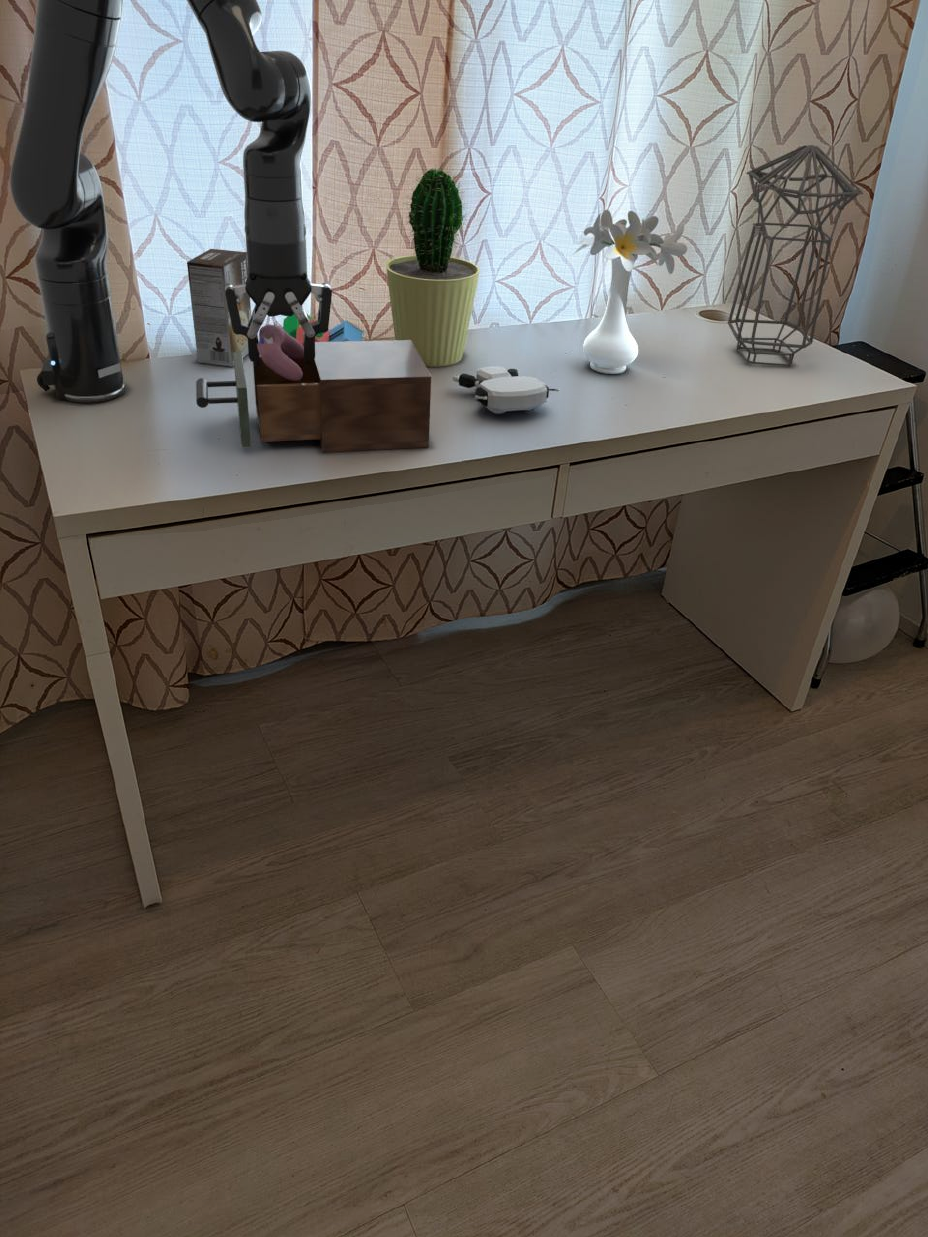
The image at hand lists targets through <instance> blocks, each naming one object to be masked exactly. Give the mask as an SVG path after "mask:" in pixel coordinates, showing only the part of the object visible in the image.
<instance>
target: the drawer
mask: <svg viewBox="0 0 928 1237" xmlns="http://www.w3.org/2000/svg"><path fill="white" fill-rule="evenodd" d="M286 356H287V355H286ZM233 357H234V366H233V368H234V380H222V381H217V380H215V381H207V379H205V378H202V377H201V378H200V377H199V378H198V379H197V380H196V382H195V389H196V390H195V391H196V392H195V396H196V397H195V398H196V405H197V407H198V408H202V409H205V408H206V407H208V405H213V404H214V405H215V404H216V405H217V404H237V405H236V407H237V416H238V424H239V433H240V443H241V448H242V449H243V448H251V447H252V443H251V442H252V441H251V440H252V439H251V429H250V428H251V426H250V416H249V401H248V388H247V387H248V386H247V381H246V374H245V373H246V372H245V366H244V360H243V359H244V358H243V357H242V352H233ZM287 357H289V356H287ZM289 358H290V359H291V360H292V361H294V362H295V363H296V364H297V365H298V366H299V367H300V368H301V370H302V373H303V376H302V378H301V379H300V380H299V381H291V380H289V379H286V378H284V377H282V376H281V375H279V374H275V373H274V371H273V370H271V368H269V367H268V366H267V365H266V364H265V363H264V361H263V360H262V358H261V356H260V366H255V363H254V361H252V369H253V370H252V371H253V383H254V384H253V385H254V397H255V400H254V401H255V410H256V416H257V424H258V430H259V437H260V442H261V443H267V442H290V441H291V442H293V441H313V440H314V441H316V440H319V439H322V434H321V400H320V382H319V379H318V375H317V372H316V369H315V365H314V362H313V360H311V364H305V361H304V358H303V359H295V358H291V357H289ZM224 387H226V388H227V387H235V390H236V391H235V394H236V397H209V389H208V388H224Z"/></svg>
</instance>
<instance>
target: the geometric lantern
mask: <svg viewBox="0 0 928 1237" xmlns="http://www.w3.org/2000/svg"><path fill="white" fill-rule="evenodd" d="M806 158H807V161H806V165H805V168H804V172H803V176H802V177H801V176H800V177H799V176H798V177H797V176H794V177H793V176H792V175H793V174H794V173H795V172H796V171H797V169H798V168H799V167H800V166H801V164H802V163H803V161H804V160H805V159H806ZM812 163H813V164H812ZM778 164H779V165H778ZM811 164H812V165H813V171H814V174H810V175H809V172H810V169H811V168H810V167H811ZM818 164H819V166H820V168H821V169H822V172H823V173H819V168H818ZM776 165H778V166H776ZM773 166H776V167H774V169H772V170H770V171H769V172H765V171H764V170H767V169H769V168H772V167H773ZM788 171H789V173H788V174H787V175H786V173H787V172H788ZM827 171H828V172H829V174H830V175H829V174H828V173H827ZM746 175H748V178H749V182H750V186H751V191H752V194H753V197H752V200H753V201H754V202H755V203H758V207H757V208H758V209H757V222H753V223H752V228H751V232H750V237H749V240H748V245H747V247H746V252H745V255H744V258H743V259H744V260H743V263H742V267H741V271H740V275H739V279H738V282H737V286H736V290H735V294H734V298H733V301H732V306H731V309H730V311H729V316H728V320H727V325H728V327H729V329H730V330H731V332H732V334H733V336H734V338H735V340H736V341H737V344H736V349H735V350H736V351H737V353H738V354H739V355H740V356H741V357H742V358H743V360H744V361H745V362H746V363H747V364H752V365H761V366H762V365H764V366H780V367H791V366H792V365H793V360H794V357H795V354H797V353H798V352H799V351H801V350H803V349H806V348H807V347H809V346H810V345H812V344H813V343H814V335H815V331H816V325H817V319H818V315H819V309H820V305H821V298H822V294H823V289H824V288H823V287H824V283H825V279H826V278H825V277H826V272H827V268H828V262H829V257H830V251H831V246H832V243H833V241H834V239H833V237H834V234H835V231H836V229H837V228H836V227H837V225H838V222H839V219H840V216H841V212H842V210H845V207H846V206H847V205H848V204H850V203H851V202H852V201H853V200H855V198H857V197H858V196H859V195H863V194H864V191H863V190H861V188H859V186H857V184H856V183H855V182H854V181H853V180H851V178H850V177H849V176H848V175H847V174H846V173H845V172H844V171H843V170H842V169H841V168H840V167H839V166H838V164H836V163H835V162H834V161H833V160H832V159H831V158H830V157H829V156H828V155H827V154H826V153H825V152H824V151H823V150H822V148H820V146H818V145H815V144H813V145H812V144H808V145H806V144H804V145H802V146H799V147H797V148H796V149H794V150H791V151H790V152H787V153H785V154H783V155H781V156H779V157H777V158H774V159H772V160H770V161H768V162H766V163H764V164H762V165H760V166H757V167H756V168H753V169H751V170H748V171H747V172H746ZM827 178H830V179H831V178H832V179H833V181H834V192H832V193H831V192H830V193H822V191H821V185H820V184H821V183H822V182H823V181H824V180H826V179H827ZM772 179H773V180H772ZM812 179H814V180H815V181H814V182H813V183H812V184H810V185H809V186H807V187H806V188H805V185H806V182H807V181H809V180H812ZM771 180H772V181H771ZM779 180H782V182H781V183H780V184H779V185H778V186H777V185H775V184H776V183H777V182H778V181H779ZM788 181H791V182H801V183H800V185H799V189H791V188H786V186H787V183H788ZM813 188H816V189H815V190H816V192H809V191H811V190H812V189H813ZM839 188H840V189H841V191H842V192H839ZM760 189H761V190H762V189H764V190H763V192H762V194H761V195H760ZM769 190H770V191H774V192H776V194H777V195H778V196H777V197H776V199H774V202H773V203H772V205H771V206H770V208H769V209H768V210H767V212H766V214H765V215H764V209H763V204H762V202H763V200H764V198H765V197H766V196H767V194H768V192H769ZM802 197H812V198H813V197H815V198H816V200H815V207H814V208H815V209H807V207H806V204H805V203H804V200H803V198H802ZM789 198H793V199H798V200H797V207H796V206H795V205H794V203H792V202H791V201H790V200H789ZM822 198H823V199H824V198H834V200H833V201H831V202H829V203H827V204H825V205H822V206H821V207H819V203H820V202H819V201H820V200H821V199H822ZM780 199H782V200H783V201H784V202H785V203H786V204H787V205H788V206H789V207H790V209H791V210H792V211H793V212H794V215H793V216H792V217H791V218H790V219H789V220H788V221H787V222H786V223H781V222H780V223H779V222H766V221H767V219H768V217H769V216H770V214H771V213H772V212H773V210H774V208H775V207H776V205H777V204H778V202H779V201H780ZM842 202H843V203H842ZM841 203H842V204H841ZM801 205H802V207H803V210H801ZM828 208H830V209H829V210H828V212H827V213H826V214H825V216H824V217H823V219H822V220H821V216H820V212H821V211H824V210H826V209H828ZM836 208H837V209H838V212H837V217H836V219H835V222H834V226H833V228H832V231H831V233H830V235H828V234H827V233H826V232H825V231H823V225H824V224H825V222H826V221H827V220H828V218H829V217H830V215H831V214H832V213H833V211H834V210H835V209H836ZM812 214H815V216H816V220H817V226H814V224H813V223H812V220H811V218H810V215H812ZM798 215H806V218H807V219H808V222H809V224H803V223H802V224H800V223H799V224H798V223H791V222H792V221H793V220H795V218H797V216H798ZM766 226H777V227H778V226H779V227H781V228H780V229H779V230H778V231H777V232H776V233H775V234H774V235H773V236H770V235H768V234H767V231H766ZM786 227H800V228H801V227H802V228H807V229H806V230H807V231H806V235H805V238H795V237H794V238H793V237H780V236H778V235H779V234H780V233H781V232H782V231H783V230H784V229H785V228H786ZM811 230H812V231H815V233H814V238H813V239H811V238H810V234H811ZM756 231H758V235H757V238H756V242H755V246H754V249H753V253H752V256H751V260H750V263H749V268H748V271H747V275H746V278H745V282H744V286H743V290H742V293H741V297H740V301H739V305H738V308H737V312H736V315H735V319H733V316H734V312H735V308H736V305H737V301H738V297H739V293H740V290H741V286H742V282H743V280H744V279H743V278H744V276H745V272H746V267H747V263H748V259H749V256H750V252H751V248H752V244H753V241H754V237H755V233H756ZM819 234H820V239H818V236H819ZM761 237H762V239H761ZM825 238H826V239H825ZM766 240H769V246H768V251H767V255H766V260H765V265H764V270H763V276H762V280H761V281H762V282H761V286H760V291H759V297H758V302H757V307H756V312H755V316H754V319H746V316H747V312H748V310H749V309H748V308H749V304H750V302H751V298H752V293H753V290H754V287H755V282H756V278H757V275H758V271H759V267H760V264H761V261H762V260H761V259H762V257H763V253H764V252H763V251H764V247H765V243H766ZM775 240H778V241H791V242H792V241H793V242H803V246H802V250H801V254H800V258H799V263H798V265H797V268H796V269H797V270H796V274H795V278H794V281H793V285H792V289H791V293H790V296H789V297H790V298H789V301H788V305H787V308H786V313H785V316H784V319H783V320H768V319H767V320H766V319H759V317H760V312H761V307H762V303H763V302H762V301H763V297H764V293H765V292H764V291H765V286H766V282H767V277H768V272H769V267H770V261H771V257H772V252H773V247H774V242H775ZM760 242H761V243H760ZM808 243H812V247H811V253H810V257H809V258H810V259H809V261H808V262H809V263H808V268H807V274H806V279H805V284H804V289H803V294H802V299H801V305H800V309H799V315H798V319H797V324H795V323H793V322H790V321H788V319H789V315H790V312H791V309H792V306H793V305H792V304H793V301H794V297H795V293H796V289H797V286H798V282H799V278H800V274H801V270H802V267H803V262H804V259H805V254H806V251H807V247H808ZM817 243H819V249H818V253H817V254H818V255H817V260H816V265H815V271H814V276H813V280H812V281H813V282H812V288H811V293H810V299H809V304H808V309H807V316H806V321H805V326H804V329H803V328H802V327H801V325H802V320H803V314H804V309H805V305H806V299H807V295H808V289H809V283H810V279H811V274H812V273H811V272H812V269H813V263H814V258H815V252H816V247H817ZM825 244H827V245H826V246H827V247H826V251H825V255H824V261H823V266H822V273H821V277H820V282H819V288H818V292H817V298H816V302H815V309H814V314H813V320H812V324H811V330H810V334H809V335H810V336H808V332H809V327H810V321H811V316H812V310H813V305H814V301H815V300H814V299H815V294H816V288H817V283H818V277H819V271H820V266H821V262H822V256H823V249H824V245H825ZM759 246H760V247H759ZM758 249H759V251H758ZM757 253H758V255H757ZM756 257H757V259H756ZM755 261H756V263H755ZM754 263H755V267H754ZM753 267H754V271H753ZM752 272H753V274H752ZM751 274H752V278H751ZM750 278H751V282H750V285H749V281H750ZM748 285H749V286H748ZM748 287H749V289H748ZM747 289H748V293H747ZM746 293H747V297H745V296H746ZM745 298H746V301H745V304H744V308H743V303H744V300H745ZM742 308H743V311H742ZM741 311H742V316H741V318H740V315H741ZM739 323H740V324H739ZM745 323H747V324H753V327H752V333H751V337H743V336H742V333H743V329H744V324H745ZM733 324H735V327H736V329H737V331H736V329H735V327H734V325H733ZM758 324H771V325H781V327H780V330H779V332H778V334H777V337H756V333H757V328H758ZM785 325H787V326H790V327H792V328H794V329H792V330H791V331H790V332H788V334H786V335H785V336H784V337H783V338H782V339H780V337H781V335H782V332H783V330H784V328H785ZM797 330H798V331H799V333H800V334H801V335H802V336H803V338H802V343H801V344H795V343H786V342H785V340H787V338H789V337H790V336H792V334H793V333H794V332H796V331H797ZM769 341H773V342H769ZM746 344H749V345H751V347H748V346H747V345H746ZM756 346H769V347H772V348H763V347H761V348H760V347H756ZM776 347H778V349H776ZM782 347H783V348H787V349H788V350H789V351H790V352H791V353H789V352H783V351H782V350H781V349H782ZM792 348H796V349H795V350H794V349H792ZM742 350H745V351H746V352H747V353H748V354H747V357H746V356H745V355H744V354H743V352H742ZM751 355H753V359H752V360H750V358H751ZM757 355H770V356H782V357H783V359H785V360H786V362H787V363H779V362H765V361H764V362H761V361H756V358H757ZM787 356H788V357H787Z"/></svg>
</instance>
